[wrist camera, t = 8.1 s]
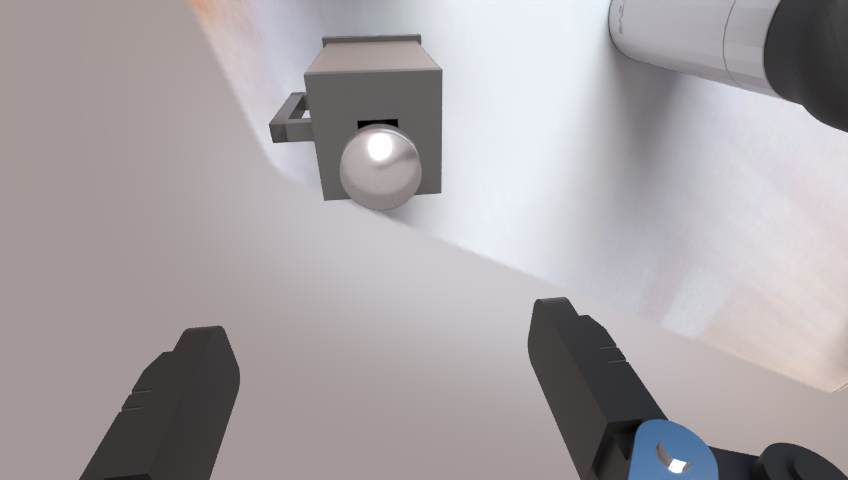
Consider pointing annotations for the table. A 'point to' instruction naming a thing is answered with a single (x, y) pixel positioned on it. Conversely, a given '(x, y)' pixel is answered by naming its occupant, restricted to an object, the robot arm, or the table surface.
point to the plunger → (380, 165)
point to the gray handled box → (366, 103)
